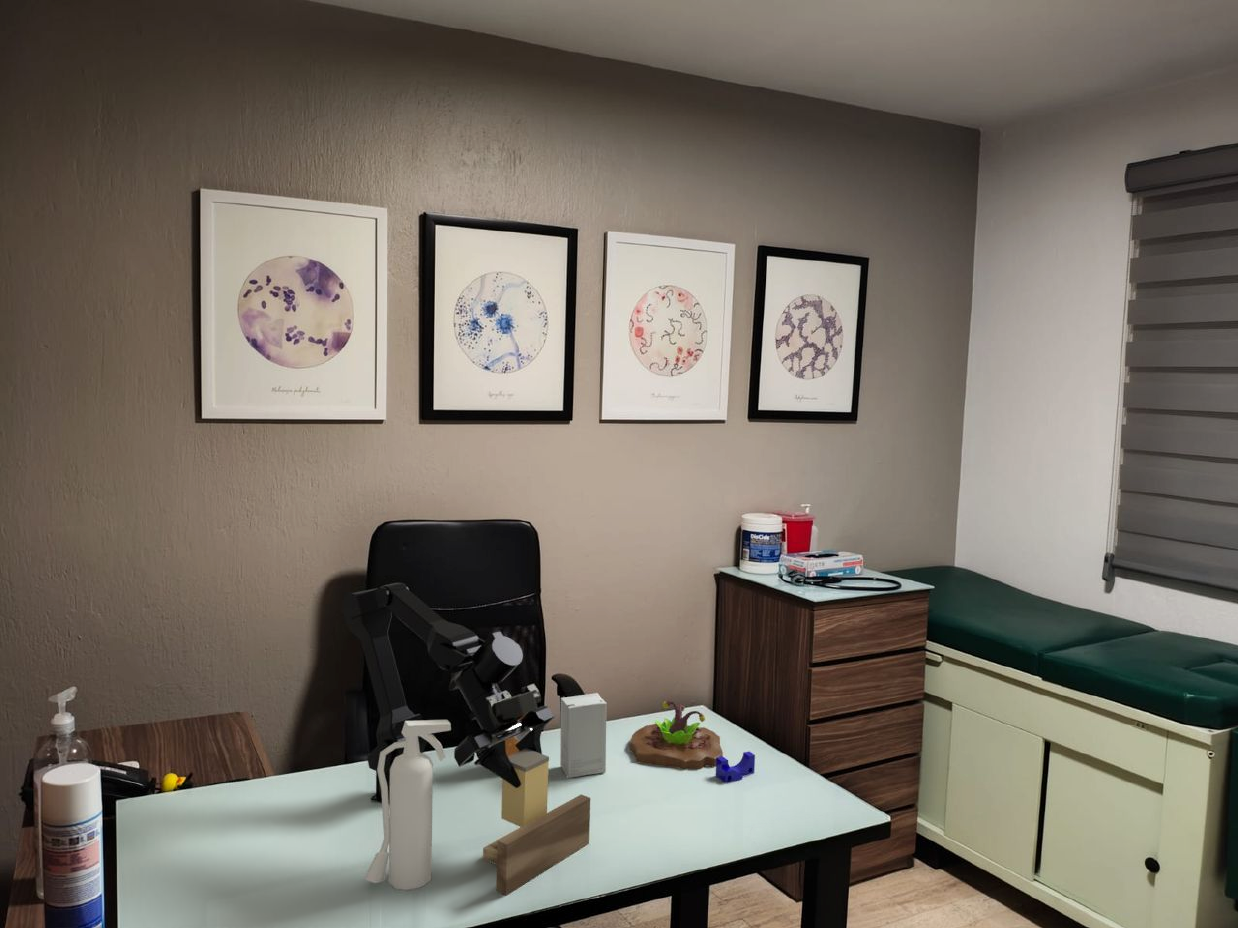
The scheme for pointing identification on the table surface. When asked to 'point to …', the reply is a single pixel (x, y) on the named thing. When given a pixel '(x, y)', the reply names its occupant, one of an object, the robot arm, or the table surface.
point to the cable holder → (735, 768)
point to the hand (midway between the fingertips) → (531, 780)
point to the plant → (676, 742)
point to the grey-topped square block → (526, 788)
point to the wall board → (540, 844)
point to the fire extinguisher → (408, 809)
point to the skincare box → (583, 735)
